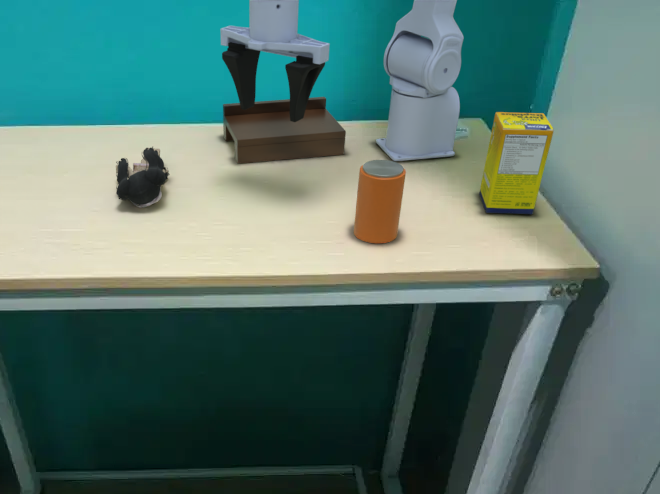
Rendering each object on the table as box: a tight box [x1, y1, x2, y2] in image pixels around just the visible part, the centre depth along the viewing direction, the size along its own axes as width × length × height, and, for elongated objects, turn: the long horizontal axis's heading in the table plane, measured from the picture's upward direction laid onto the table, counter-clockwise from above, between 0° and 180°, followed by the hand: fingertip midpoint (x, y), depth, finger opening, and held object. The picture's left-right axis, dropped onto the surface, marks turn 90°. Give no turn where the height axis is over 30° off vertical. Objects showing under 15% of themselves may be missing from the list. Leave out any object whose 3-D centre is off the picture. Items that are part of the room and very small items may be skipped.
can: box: [353, 159, 407, 244], centre depth 86 cm, size 5×5×8 cm
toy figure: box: [115, 146, 170, 209], centre depth 97 cm, size 7×6×15 cm
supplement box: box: [478, 111, 555, 215], centre depth 91 cm, size 6×6×11 cm
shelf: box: [222, 96, 347, 164], centre depth 109 cm, size 16×11×5 cm
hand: (271, 113), depth 93 cm, fingers open, 7 cm apart
